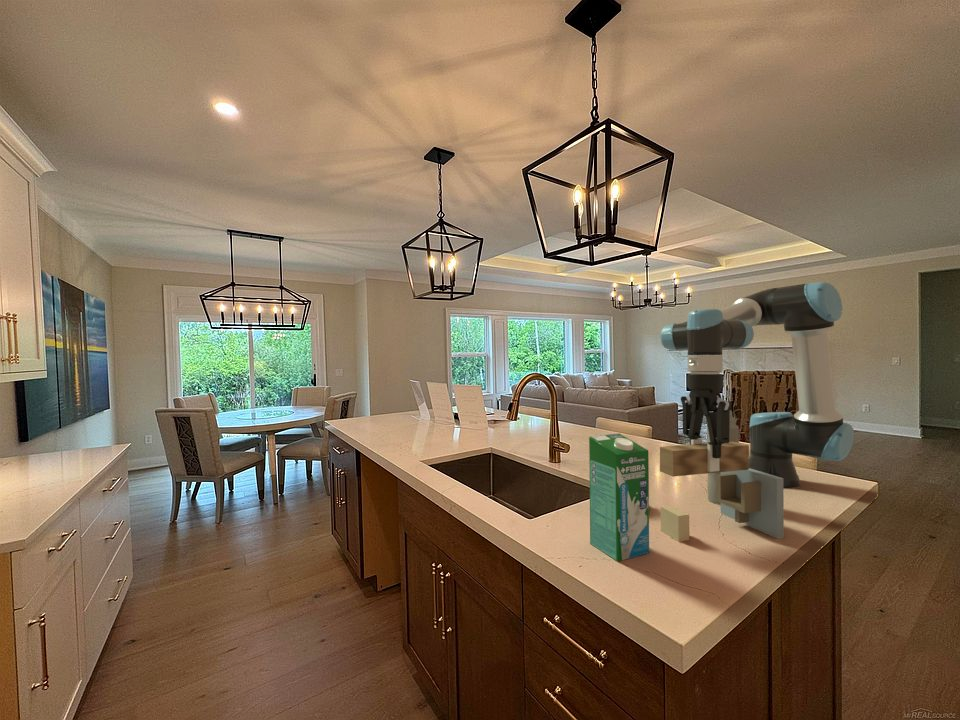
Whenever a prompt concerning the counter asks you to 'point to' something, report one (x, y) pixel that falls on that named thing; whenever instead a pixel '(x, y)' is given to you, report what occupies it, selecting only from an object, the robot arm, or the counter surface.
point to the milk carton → (619, 496)
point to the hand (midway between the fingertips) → (704, 467)
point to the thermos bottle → (713, 476)
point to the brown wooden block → (702, 459)
